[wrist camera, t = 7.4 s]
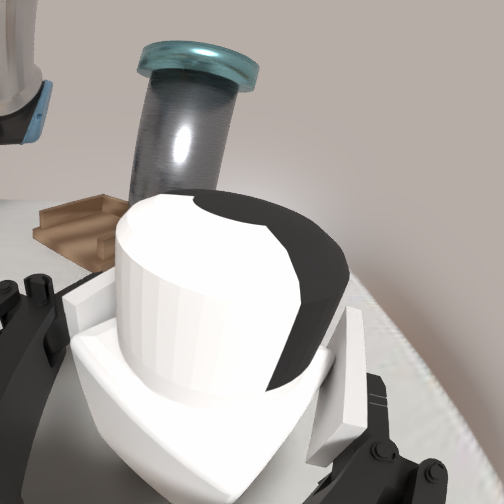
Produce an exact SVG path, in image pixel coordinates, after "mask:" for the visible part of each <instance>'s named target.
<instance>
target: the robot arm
mask: <svg viewBox="0 0 504 504" xmlns="http://www.w3.org/2000/svg"><path fill="white" fill-rule="evenodd" d="M37 2H38V0H0V145H7V144H8V145H9V144H20V145H23V144H24V143H33V142H35V141H37V140H38V139H39V137H40V135H41V133H42V129H43V126H44V122H45V118H46V114H47V110H48V106H49V101H50V97H51V92H52V87H53V83H52V82H51V81H48V80H44V81H42V72H41V70H40V69H39V67H38V66H36V65H35V64H34V32H35V19H36V10H37ZM24 285H25V290H26V295H27V296H25V295H23V294H20V293H19V289H18V284H17V283H16V282H15V281H12V280H4V281H1V282H0V321H1V324H2V327H3V329H1V330H0V504H24V503H23V500H22V498H21V489H22V484H23V479H24V474H25V470H26V466H27V462H28V458H29V454H30V450H31V447H32V443H33V440H34V437H35V433H36V430H37V427H38V424H39V421H40V418H41V415H42V412H43V409H44V407H45V404H46V401H47V399H48V396H49V393H50V391H51V388H52V386H53V383H54V381H55V378H56V376H57V373H58V371H59V369H60V366H61V364H62V362H63V360H64V357H65V355H66V348H65V346H66V345H68V344H69V343H70V340H71V337H72V336H74V335H75V334H77V333H79V332H82V331H84V330H86V329H89V328H91V327H93V326H96V325H98V324H100V323H103V322H105V321H107V320H110V319H112V318H114V317H116V300H115V267H113V268H111V269H109V270H107V271H106V272H103V271H100V272H96V273H92V274H90V275H88V276H86V277H84V278H83V280H82V279H81V280H79V281H77V282H76V283H74V284H72V285H70V286H68V287H66V288H65V289H63V290H61V291H59V292H58V293H56V294H54V289H53V282H52V278H51V277H50V276H48V275H45V274H33V275H30V276H28V277H26V278H25V279H24ZM326 348H328V349H330V350H331V351H333V353H334V355H335V361H334V364H333V365H332V367H331V369H330V371H329V372H328V374H327V376H326V378H325V379H324V381H323V383H322V384H321V386H320V390H319V396H318V402H317V408H316V413H315V419H314V424H313V430H312V435H311V440H310V444H309V449H308V454H307V458H306V463H307V464H311V465H316V466H321V467H327V466H328V465H330V464H331V463H332V462H333V467H332V472H331V473H329V474H328V475H327V476H326V477H324V478H323V479H322V480H321V481H319V482H318V484H319V485H318V487H317V488H316V489H315V490H314V491H313V492H312V493H311V495H310V496H309V497H308V498H307V499H306V500H305V501H304V502H303V503H302V504H445V502H446V494H447V483H448V473H447V469H446V467H445V465H444V464H443V463H442V462H441V461H439V460H437V459H433V458H429V459H426V460H424V461H422V462H421V463H420V464H417V463H415V462H412V461H410V460H408V459H405V458H403V457H402V456H400V455H399V450H398V448H397V446H396V445H395V443H394V442H393V441H391V440H390V438H389V421H388V407H387V399H386V397H387V395H386V386H385V384H384V383H383V381H382V379H381V377H380V376H377V375H373V374H370V373H366V359H365V344H364V332H363V321H362V312H361V310H358V309H355V308H352V307H349V306H346V308H345V310H344V312H343V314H342V316H341V319H340V321H339V323H338V325H337V327H336V329H335V331H334V333H333V335H332V337H331V339H330V341H329V343H328V345H327V347H326Z"/></svg>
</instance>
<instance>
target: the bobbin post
mask: <svg viewBox="0 0 504 504" xmlns="http://www.w3.org/2000/svg"><path fill="white" fill-rule="evenodd" d="M137 72H138V73H139V74H141V75H143V76H145V77H148V78H150V80H149V84H148V88H147V92H146V96H145V101H144V105H143V110H142V115H141V120H140V125H139V130H138V135H137V141H136V147H135V154H134V161H133V167H132V175H131V182H130V191H129V201H128V210H129V209H130V208H131V207H132V206H133V205H134V204H136V203H137V202H139V201H141V200H144V199H146V198H149V197H152V196H155V195H158V194H161V193H164V192H168V191H172V190H179V189H207V190H216V186H217V182H218V177H219V172H220V167H221V162H222V157H223V153H224V149H225V144H226V140H227V135H228V131H229V127H230V123H231V118H232V114H233V110H234V105H235V102H236V98H237V94H238V92H251V91H253V90H254V88H255V84H256V80H257V76H258V72H259V66H258V64H257V63H256V62H255V61H253V60H252V59H250V58H248V57H247V56H245V55H243V54H240V53H238V52H236V51H233V50H230V49H227V48H224V47H220V46H216V45H212V44H206V43H200V42H194V41H162V42H156V43H152V44H150V45H147V46H146V47H144V48H143V51H142V54H141V58H140V61H139V65H138V68H137Z"/></svg>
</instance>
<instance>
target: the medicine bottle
mask: <svg viewBox="0 0 504 504" xmlns="http://www.w3.org/2000/svg"><path fill="white" fill-rule="evenodd" d="M349 275H350V272H349V268H348V265H347V262H346V259H345V256H344V253H343V252H342V249H341V248H340V247H339V245H338V244H337V243H336V242H335V241H334V240H333V239H332V238H331V237H330V236H328V234H326V233H325V232H324V231H323V230H322V229H321V228H320V227H319V226H318V225H317V224H315V223H314V222H313V221H311V220H310V219H308V218H306V217H304V216H303V215H301V214H299V213H297V212H294V211H292V210H290V209H287V208H285V207H282V206H280V205H277V204H274V203H271V202H268V201H265V200H262V199H258V198H254V197H250V196H246V195H241V194H237V193H231V192H225V191H217V190H207V189H179V190H172V191H168V192H164V193H161V194H158V195H155V196H152V197H149V198H146V199H144V200H141V201H139V202H137V203H136V204H134V205H133V206H132V207H131V208H130V209H129V210H128V211H127V212H126V213H125V214H124V215H123V217H122V218H121V219H120V220H119V222H118V224H117V227H116V239H115V300H116V317H114V318H112V319H110V320H107V321H105V322H103V323H100V324H98V325H96V326H93V327H91V328H89V329H86V330H84V331H82V332H79V333H77V334H75V335H74V336H72V337H71V340H70V346H71V350H72V354H73V358H74V362H75V366H76V369H77V373H78V376H79V379H80V383H81V386H82V389H83V392H84V395H85V398H86V401H87V404H88V406H89V409H90V412H91V414H92V417H93V420H94V422H95V425H96V427H97V430H98V432H99V434H100V436H101V437H102V438H103V439H104V440H105V441H106V443H107V444H108V445H109V446H110V447H111V448H112V449H113V450H114V451H115V452H116V453H117V454H118V455H119V456H120V458H121V459H122V460H123V461H124V462H125V463H126V464H127V465H128V466H129V467H130V468H132V469H133V470H134V471H135V472H136V473H137V474H138V475H139V476H140V477H141V478H142V479H143V480H144V481H146V482H147V483H148V484H149V485H150V486H151V487H152V488H154V489H155V490H156V491H157V492H158V493H159V494H161V495H162V496H163V497H164V498H166V499H167V500H168V501H169V502H171V503H172V504H233V503H234V502H235V501H236V500H237V499H238V498H239V497H240V496H241V495H242V494H243V492H244V491H245V490H246V489H247V488H248V487H249V485H250V484H251V483H252V482H253V481H254V479H255V478H256V477H257V476H258V475H259V473H260V472H261V471H262V470H263V468H264V467H265V466H266V465H267V463H268V462H269V461H270V459H271V458H272V457H273V456H274V454H275V453H276V452H277V450H278V449H279V447H280V446H281V445H282V443H283V442H284V441H285V439H286V438H287V436H288V435H289V434H290V432H291V431H292V429H293V428H294V426H295V425H296V423H297V422H298V421H299V419H300V418H301V416H302V415H303V413H304V411H305V410H306V408H307V407H308V405H309V404H310V402H311V401H312V399H313V397H314V396H315V394H316V393H317V391H318V389H319V388H320V386H321V384H322V383H323V381H324V379H325V378H326V376H327V374H328V372H329V371H330V369H331V367H332V365H333V364H334V361H335V355H334V353H333V351H331V350H330V349H328V348H326V347H324V346H322V345H320V344H321V342H322V340H323V337H324V335H325V333H326V331H327V329H328V327H329V325H330V323H331V320H332V318H333V316H334V314H335V312H336V309H337V307H338V305H339V302H340V300H341V298H342V296H343V293H344V291H345V288H346V286H347V284H348V281H349Z"/></svg>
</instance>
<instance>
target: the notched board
mask: <svg viewBox="0 0 504 504" xmlns="http://www.w3.org/2000/svg"><path fill="white" fill-rule="evenodd" d="M127 211H128V201H124V200H121V199H118V198H114V197H111V196H108V195H105V194H102V195H97V196H93V197H89V198H85V199H81V200H77V201H73V202H69V203H66V204H62V205H58V206H55V207H51V208H48V209H44V210H41V211H39V216H40V227H37V228H34V229H33V238H34V239H36V240H37V241H39V242H41V243H42V244H44V245H45V246H47V247H49V248H50V249H52V250H54V251H55V252H57V253H59V254H60V255H62V256H64V257H66V258H67V259H69V260H71V261H73V262H74V263H76V264H78V265H80V266H81V267H83V268H85V269H87V270H89V271H91V272H92V273H96V272H100V271H103V272H106V271H107V270H109V269H111V268H113V267H115V239H116V227H117V224H118V222H119V220H120V219H121V218H122V217H123V215H124V214H125V213H126V212H127Z"/></svg>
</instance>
